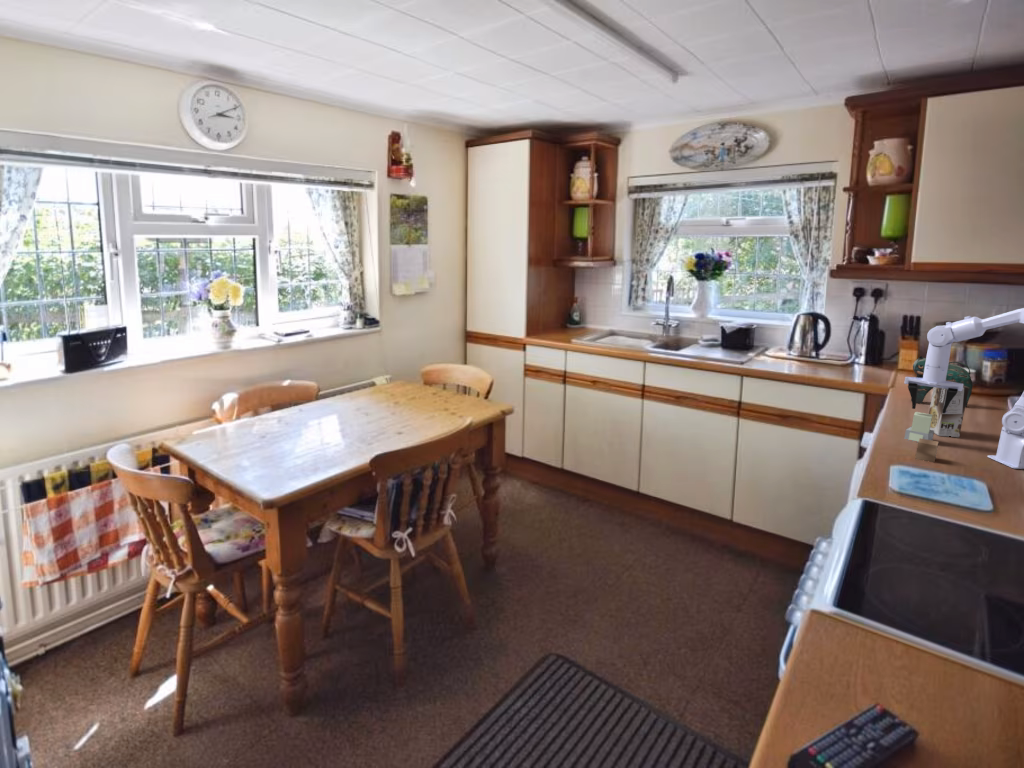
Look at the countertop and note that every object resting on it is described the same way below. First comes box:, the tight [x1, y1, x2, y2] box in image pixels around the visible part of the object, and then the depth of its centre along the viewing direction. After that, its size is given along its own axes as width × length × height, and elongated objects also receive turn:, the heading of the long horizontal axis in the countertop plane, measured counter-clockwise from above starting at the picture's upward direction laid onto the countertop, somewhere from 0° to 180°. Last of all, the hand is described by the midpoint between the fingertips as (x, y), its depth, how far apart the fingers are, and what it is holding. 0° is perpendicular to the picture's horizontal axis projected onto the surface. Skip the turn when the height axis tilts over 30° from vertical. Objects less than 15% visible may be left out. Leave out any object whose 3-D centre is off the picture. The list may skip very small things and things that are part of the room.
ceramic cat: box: [910, 355, 974, 408], centre depth 237 cm, size 20×6×20 cm, turn 73°
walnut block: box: [915, 438, 939, 463], centre depth 178 cm, size 4×4×5 cm
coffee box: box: [928, 381, 969, 438], centre depth 202 cm, size 9×6×16 cm
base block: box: [903, 425, 935, 443], centre depth 195 cm, size 6×6×4 cm
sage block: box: [911, 411, 932, 434], centre depth 194 cm, size 4×4×5 cm
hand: (928, 410), depth 191 cm, fingers open, 7 cm apart
